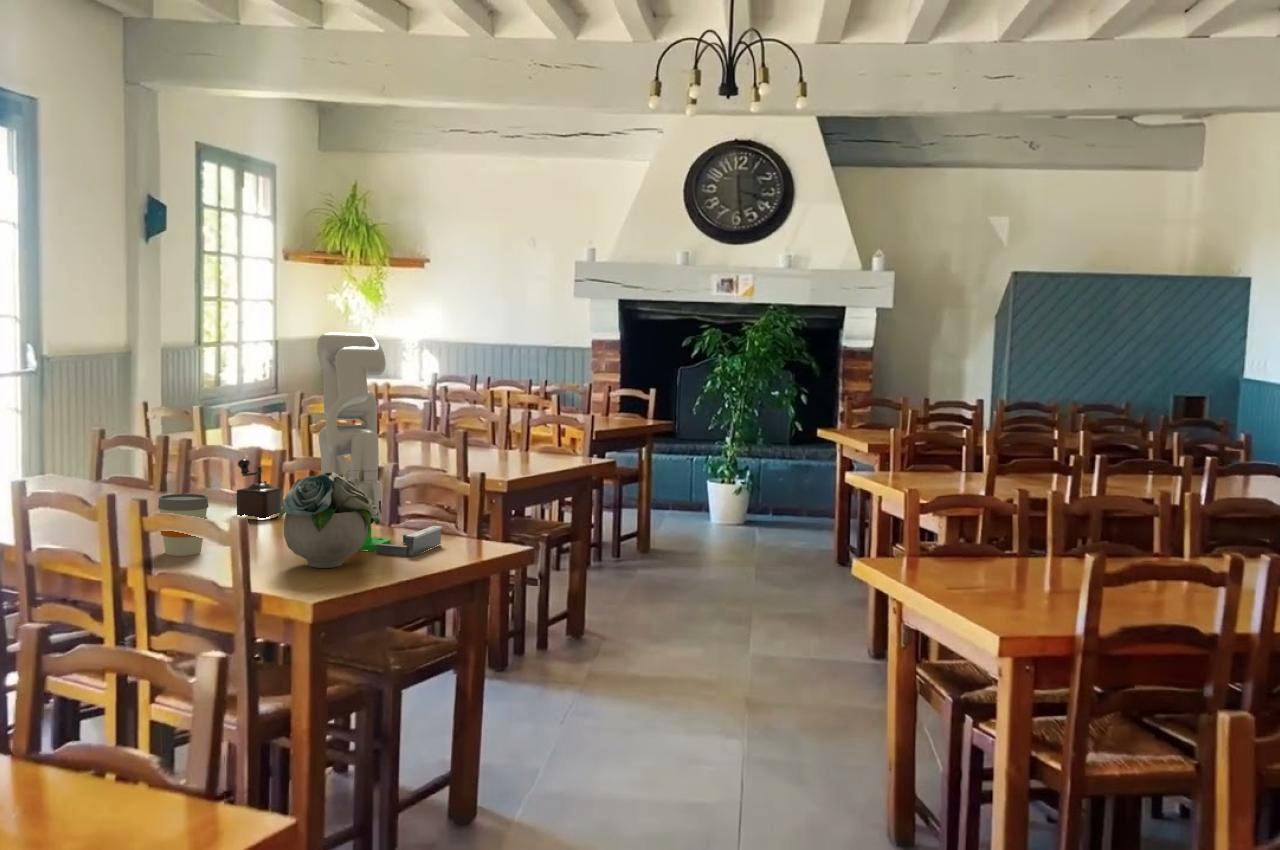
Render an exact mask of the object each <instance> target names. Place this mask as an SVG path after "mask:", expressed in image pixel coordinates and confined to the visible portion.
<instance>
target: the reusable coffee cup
mask: <svg viewBox="0 0 1280 850" xmlns="http://www.w3.org/2000/svg"><path fill="white" fill-rule="evenodd" d="M157 508H158V509H159V514H160V513H174V514H181V515H187V516H195V517H200V518H204V519H207V520H208V517H207V512H208V511H207V510H208V508H209V499H208V495H206V494H198V493H172V494H164V495H160V496H159V497H158V506H157ZM160 535H161V537H162V538H163V539H162V540H163V546H164V554H165V555H168V556H174V557H175V556H177V557H178V556H179V557H181V556H182V557H183V556H184V557H185V556H193V555H198V554H201V553H202V546H203V538H204V537H203V538H199V537H196V536H191V535H188V534H184V533H179V532H174V531H161V530H160Z"/></svg>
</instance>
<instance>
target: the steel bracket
mask: <svg viewBox="0 0 1280 850" xmlns="http://www.w3.org/2000/svg"><path fill="white" fill-rule="evenodd" d="M442 529H443V526H442V525H440V526H439V525H431V526H428V527H426V528H424V529H421V530H418V531H414V532H412V533H410V534H408V533H405V534H402V544H403V543H407V544H406V545H399V544H397V545H396V544H391V545H388V544H377V545H376V552H375V554H376V553H381V554H380V555H386V554H390V555H389V556H397V555H401V557H409V556H411V557H410V558H414V557H416V556H419V555H421V554H423V553H422V552H424V551H426V550H428V549H430V548H433V547H435V546H437V545H439V544H442V543H441V542H442V541H441V540H442V537H441V536H442V534H441V533H442ZM433 549H434V548H433ZM426 552H427V551H426ZM420 553H421V554H420ZM424 553H425V552H424ZM418 554H419V555H418ZM413 556H414V557H413Z"/></svg>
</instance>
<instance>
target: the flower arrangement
mask: <svg viewBox="0 0 1280 850" xmlns="http://www.w3.org/2000/svg"><path fill="white" fill-rule="evenodd" d="M342 477H343V474H336V473H325V474H321V473H320V474H318V475H312V476H307V477H304V478H301V479H299V478H298V479H297V480H296V481H295V482H294V483H292V485H291V488H290V490H289V491H288V492H287V493H285V497H284V499H283V500H282V509H281V511H280V514H279V516H278V518H276V520H277V521H278V520H279V519H280V518H281V517H283V516H284V520H283V536H284V537H283V538H284V539H285V542H286V546H287V548H288V549H289V550H290V551H292V552H293V553H294V554H295V555H296V556H299V557H301V558H303V559H305V560H306V562H307V565H308V566H309V567H311V568H316V569H317V568H318V569H332V568H337V567H338V568H339V567H341V566H342V565H343V564H344V561H345V559H347V558H348V557H350V556H352V555H354V554H356V553H357V552H358V550H359V549H360V548H361V547H362V546H363V545H364V543H365V540H366V537H367V533H368V529H369V532H370V527H371V528H372V524H371V512H370V511H369V509H372V508H371V507H374V509H377V510H378V508H377V507H376V506H375V505H372V500H371V499H369V497H368V496H367V495H365V494H364V492H362V491H361V489H359V487H358V486H359V481H358V479H355V480H356V481H354V482H351V481H350V480H349V477H348V475H347V474H345V475H344V477H343V478H342ZM368 503H370V505H369V504H368ZM374 509H372V510H373V511H374Z"/></svg>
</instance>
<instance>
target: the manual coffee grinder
mask: <svg viewBox="0 0 1280 850" xmlns="http://www.w3.org/2000/svg"><path fill="white" fill-rule="evenodd" d="M250 464H251V462H250V460H248V459H246V458H242V459H239V460H238V461H237V466H238V468H239V469H240V470H241V471H240V474H241V476H242V477H249V476H256V475H257V482H254V483H252V484H251V485H248V486H247V487H245V488H244V487H243V488H239V489H237V490H236V516H237V515H240V516H242V515H244V514H245V515H248V516H255V517H259V518H266V517H269V516H271V515H273V514H277V513H280V511H281V509H282V504H283V488H282V487H275V486H274V485H270V484H269V483H267V480H265V481H262V473H263V471H262V466H260V465H258V466H257V467H256V468H257V471H255V472H251V471H250V470H249V467H250V466H251V465H250Z"/></svg>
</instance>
